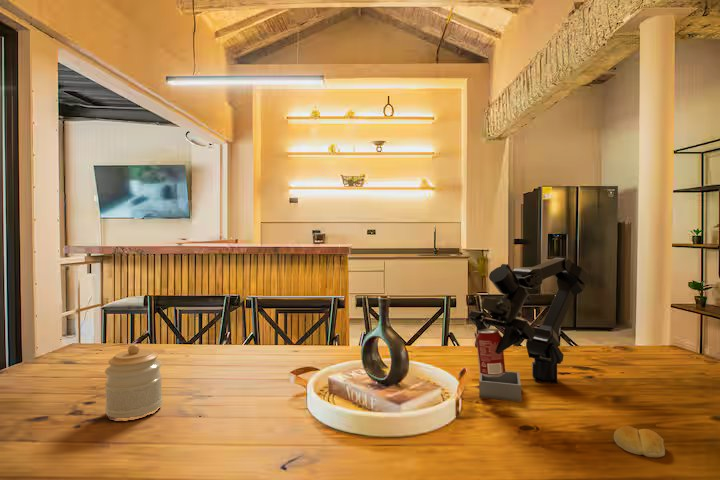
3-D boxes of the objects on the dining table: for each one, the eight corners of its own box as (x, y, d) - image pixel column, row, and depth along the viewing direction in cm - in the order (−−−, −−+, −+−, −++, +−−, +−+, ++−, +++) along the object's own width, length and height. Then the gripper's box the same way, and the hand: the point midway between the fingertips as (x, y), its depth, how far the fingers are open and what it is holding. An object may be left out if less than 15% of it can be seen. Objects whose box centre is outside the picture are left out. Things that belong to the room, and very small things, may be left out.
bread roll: (614, 434, 93) (614, 417, 93) (663, 445, 88) (663, 426, 88) (613, 451, 86) (613, 432, 86) (666, 463, 81) (666, 443, 81)
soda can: (506, 378, 108) (501, 332, 108) (479, 378, 110) (475, 333, 110) (504, 371, 114) (500, 327, 115) (479, 371, 116) (475, 328, 117)
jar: (173, 405, 111) (172, 340, 111) (132, 426, 99) (131, 353, 99) (136, 399, 115) (135, 336, 115) (93, 419, 103) (91, 349, 103)
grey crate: (518, 387, 121) (518, 372, 120) (521, 402, 110) (521, 385, 110) (480, 383, 124) (480, 368, 124) (479, 397, 114) (479, 381, 114)
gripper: (471, 283, 122) (445, 326, 116) (527, 290, 106) (500, 340, 101) (489, 306, 126) (465, 348, 121) (545, 316, 111) (521, 365, 105)
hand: (486, 349), depth 112 cm, fingers closed on soda can, 7 cm apart
